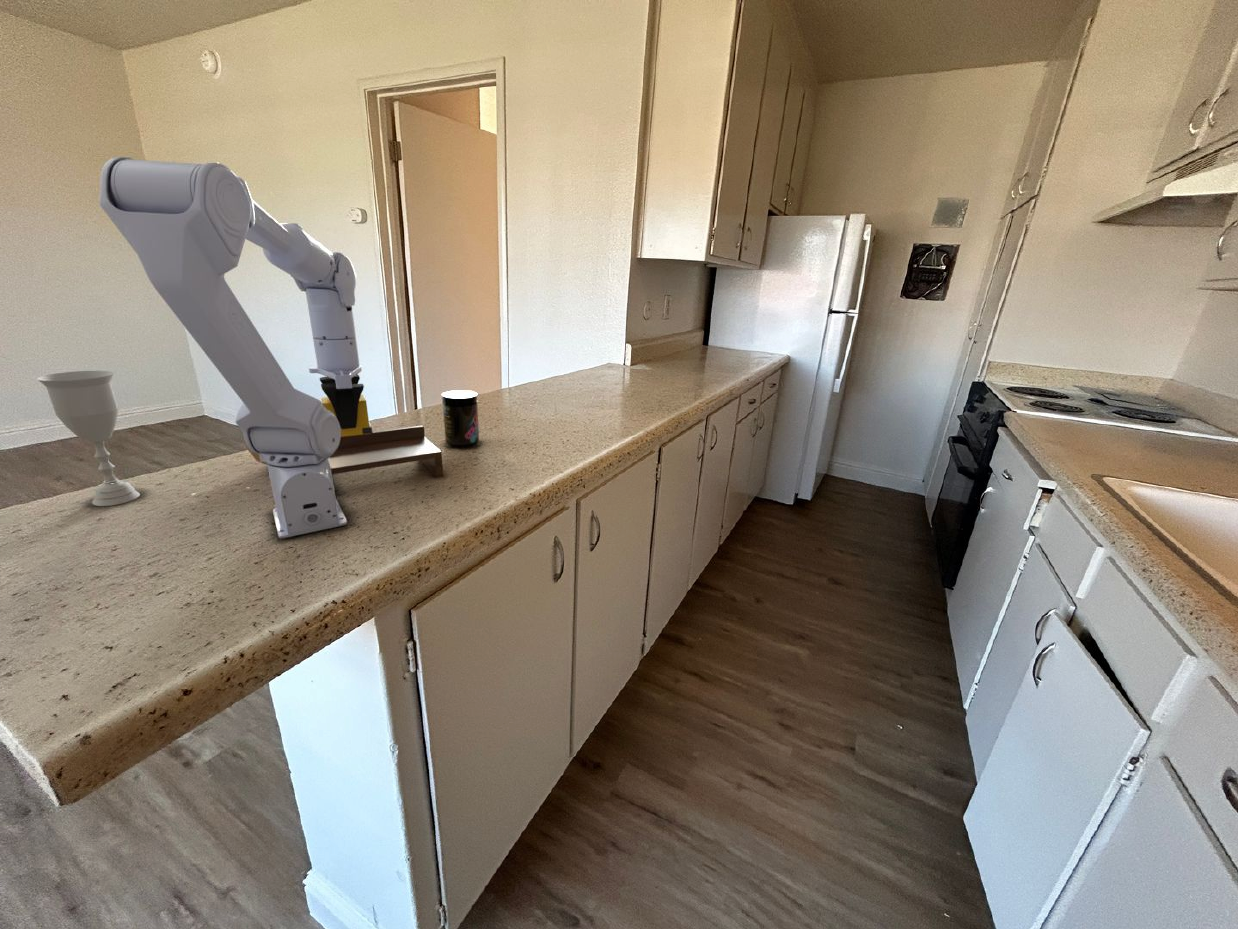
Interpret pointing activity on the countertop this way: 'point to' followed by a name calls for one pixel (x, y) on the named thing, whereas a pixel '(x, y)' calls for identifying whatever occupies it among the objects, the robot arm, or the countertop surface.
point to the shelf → (386, 450)
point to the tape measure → (362, 418)
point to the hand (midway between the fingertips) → (347, 424)
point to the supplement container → (461, 418)
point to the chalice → (90, 422)
